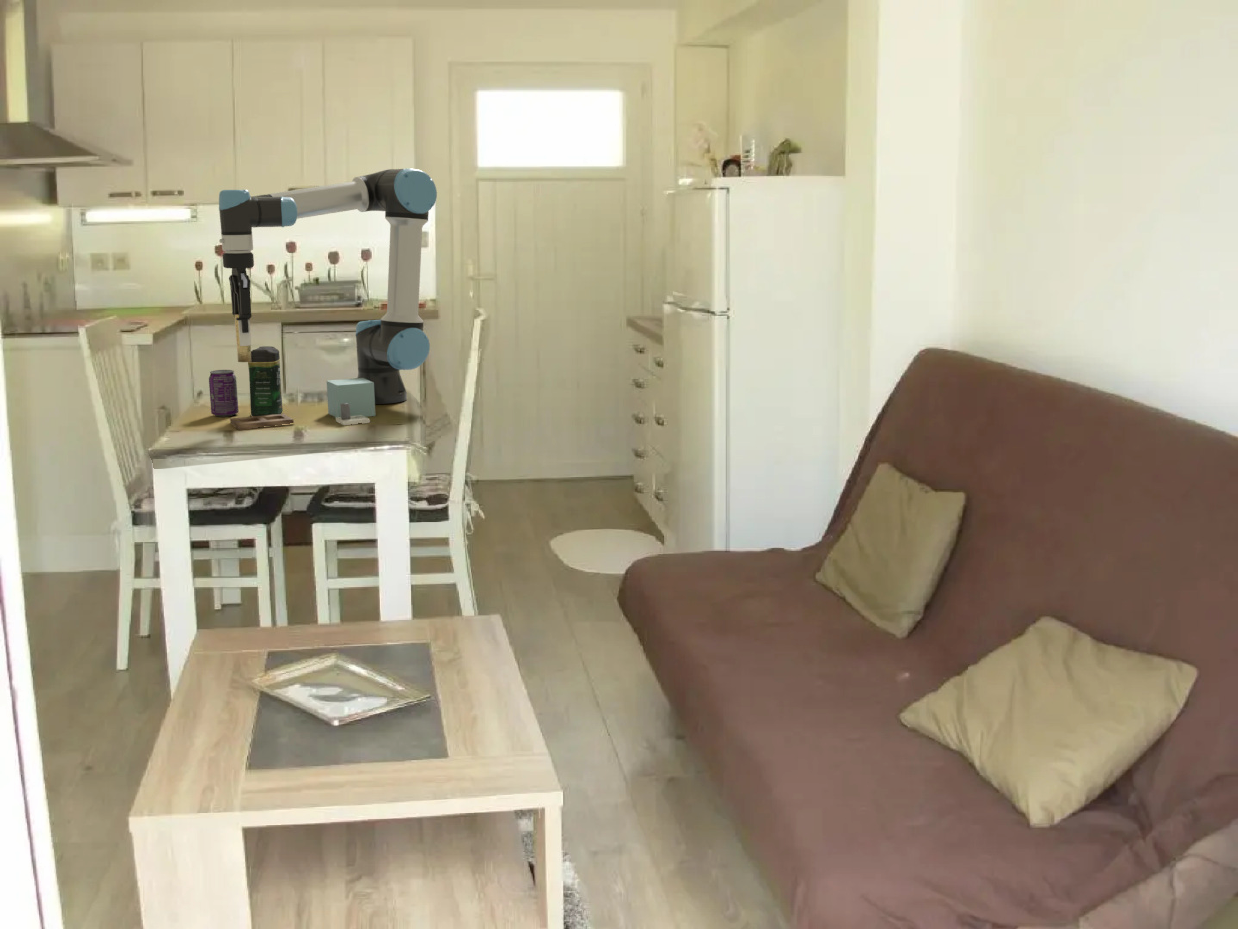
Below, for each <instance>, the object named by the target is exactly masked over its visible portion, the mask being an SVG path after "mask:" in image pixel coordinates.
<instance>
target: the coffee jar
mask: <svg viewBox="0 0 1238 929" xmlns="http://www.w3.org/2000/svg"><path fill="white" fill-rule="evenodd" d="M251 360H252V361H251V362H247V367H248V380H249V396H250V397H249V401H250V415H251V417H252V416H264V415H275V414H283V410H284V409H283V398H282V396H283V394H282V382H281V381H282V380H281V359H280V350H279V349H277V348H276V347H275V346H269V345H267V346H266V345H264V346H263V345H262V346H259V347H257V348H256V349H251Z"/></svg>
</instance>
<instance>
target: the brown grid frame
mask: <svg viewBox="0 0 1238 929" xmlns="http://www.w3.org/2000/svg"><path fill="white" fill-rule="evenodd" d="M229 420H230V425H232V426H233V427H234V426H235V427H234V428H236V429H237V430H252V428H253V429H259V428H258V427H264V426H274V427H276V426H275V425H282V424H290V423H294V418H292V417H290V416H289V415H286V414H285V413H281V414H275V415H264V416H252V415H251V416H243V417H233V418H230V417H229ZM294 424H295V423H294ZM264 428H265V427H264Z"/></svg>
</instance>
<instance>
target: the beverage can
mask: <svg viewBox="0 0 1238 929" xmlns="http://www.w3.org/2000/svg"><path fill="white" fill-rule="evenodd" d="M209 373H210V376H209V377H208V385H209V387H208V388H209V399H210V402H209V403H210V413H211V415H213V416H215V417H217V418H228V417H229V418H230V417H233V416H236V414H238V413H239V398H238V397H239V396H238V387H237V377H236V374H235V370H233V369H217V370H210V371H209Z"/></svg>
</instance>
